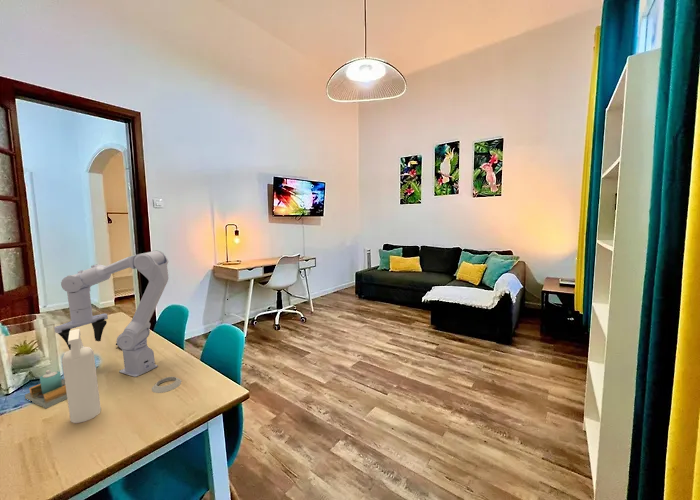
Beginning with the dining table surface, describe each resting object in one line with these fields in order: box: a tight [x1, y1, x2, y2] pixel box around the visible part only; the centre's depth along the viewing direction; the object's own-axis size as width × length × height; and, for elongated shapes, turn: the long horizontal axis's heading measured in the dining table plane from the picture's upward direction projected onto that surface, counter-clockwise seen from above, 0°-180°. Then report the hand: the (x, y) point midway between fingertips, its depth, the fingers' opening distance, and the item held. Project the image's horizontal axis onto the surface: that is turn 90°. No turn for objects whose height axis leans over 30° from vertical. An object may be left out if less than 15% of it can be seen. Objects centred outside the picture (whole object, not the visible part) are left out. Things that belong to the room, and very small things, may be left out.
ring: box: [151, 376, 183, 394], centre depth 98 cm, size 8×8×2 cm
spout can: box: [39, 369, 62, 395], centre depth 93 cm, size 4×4×6 cm
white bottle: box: [61, 328, 102, 424], centre depth 83 cm, size 7×12×25 cm, turn 38°
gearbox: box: [24, 378, 67, 409], centre depth 94 cm, size 12×11×4 cm
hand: (85, 345), depth 106 cm, fingers open, 7 cm apart
